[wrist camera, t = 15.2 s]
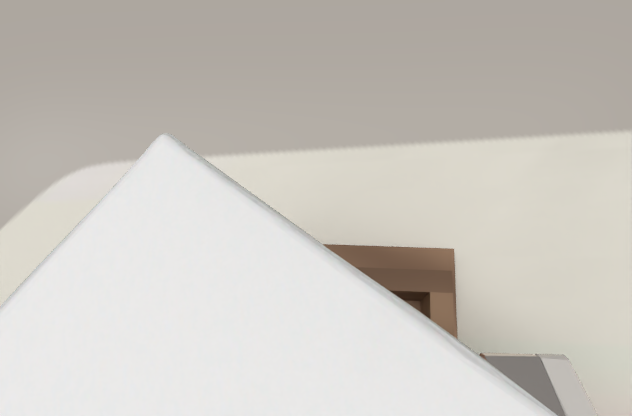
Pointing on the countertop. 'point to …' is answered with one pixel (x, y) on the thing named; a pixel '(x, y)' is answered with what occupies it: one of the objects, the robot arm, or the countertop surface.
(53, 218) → the countertop surface
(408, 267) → the organiser tray
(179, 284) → the skincare box
